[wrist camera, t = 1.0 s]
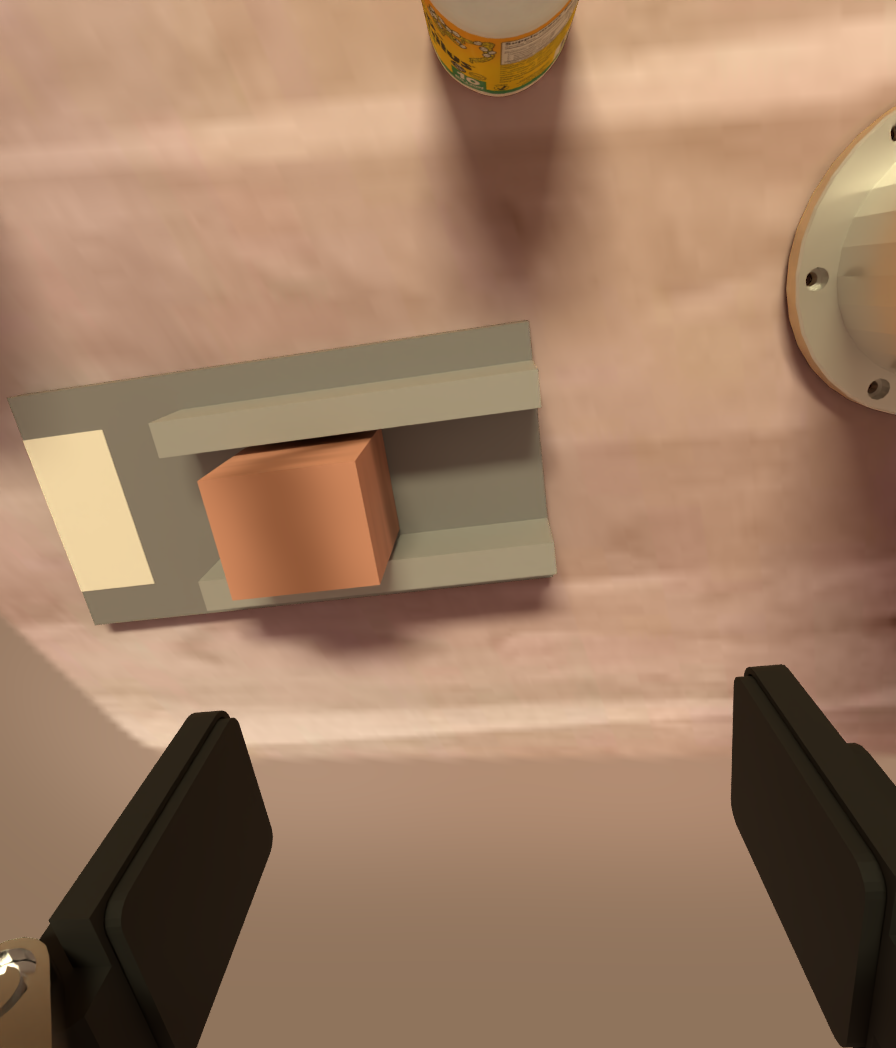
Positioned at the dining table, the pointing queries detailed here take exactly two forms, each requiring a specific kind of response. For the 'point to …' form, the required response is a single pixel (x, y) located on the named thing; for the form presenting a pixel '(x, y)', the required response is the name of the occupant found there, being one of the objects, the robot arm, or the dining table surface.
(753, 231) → the dining table surface
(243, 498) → the block
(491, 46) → the supplement bottle
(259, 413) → the chute
